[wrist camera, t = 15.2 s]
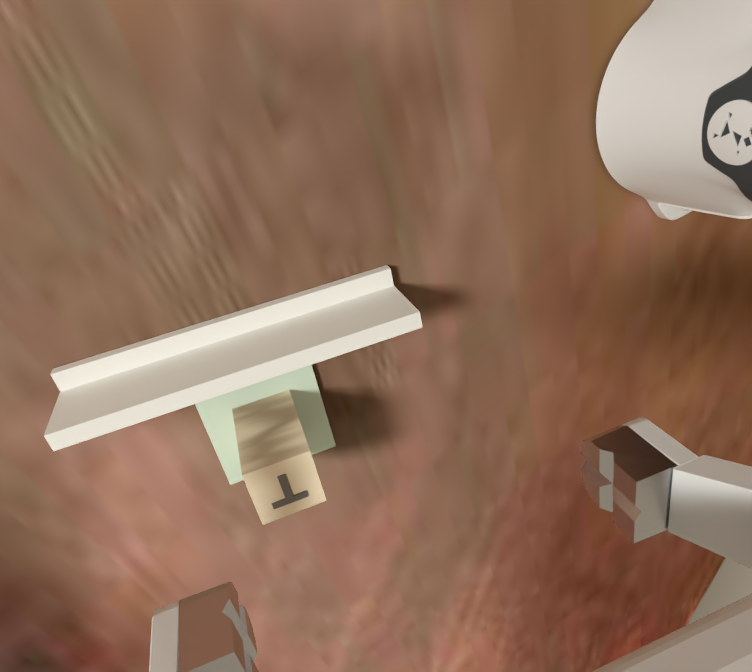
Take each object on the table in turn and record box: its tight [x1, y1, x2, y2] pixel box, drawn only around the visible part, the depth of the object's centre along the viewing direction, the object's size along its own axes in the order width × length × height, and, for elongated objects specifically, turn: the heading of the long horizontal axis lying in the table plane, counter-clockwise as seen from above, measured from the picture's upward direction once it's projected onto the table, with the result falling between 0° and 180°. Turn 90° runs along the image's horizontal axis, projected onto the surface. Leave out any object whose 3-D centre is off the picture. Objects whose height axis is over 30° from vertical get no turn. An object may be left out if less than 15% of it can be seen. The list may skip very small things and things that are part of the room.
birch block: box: [232, 390, 326, 525], centre depth 40 cm, size 4×4×8 cm
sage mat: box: [195, 365, 336, 485], centre depth 44 cm, size 9×9×1 cm
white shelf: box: [44, 265, 422, 451], centre depth 38 cm, size 24×4×6 cm, turn 101°
